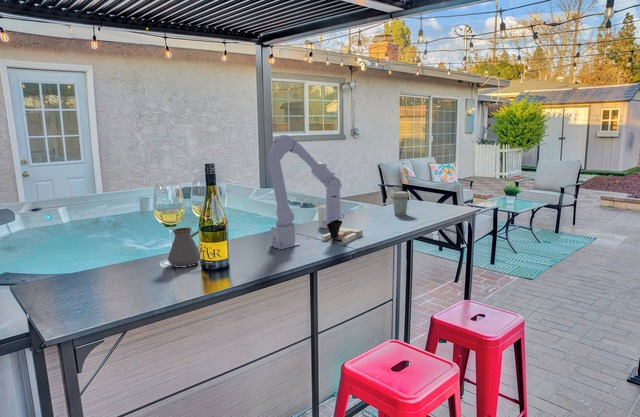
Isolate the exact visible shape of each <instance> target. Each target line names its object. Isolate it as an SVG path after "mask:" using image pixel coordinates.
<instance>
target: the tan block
mask: <svg viewBox="0 0 640 417" xmlns="http://www.w3.org/2000/svg"><path fill="white" fill-rule="evenodd" d="M348 235H349V231H348V230H339V233H338V237H337V239H332V238H331V240H332V241H334V240H339V241H340V242H342V238H344V237H346V236H348Z"/></svg>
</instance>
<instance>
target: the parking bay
mask: <svg viewBox="0 0 640 417" xmlns="http://www.w3.org/2000/svg"><path fill="white" fill-rule="evenodd" d="M339 230H348V231H349V235H348V236H346V237H344V238H342V241H341V243H342V244H345V243H346V244H347V243H350V242H351V241H353V240H355V239H357V238H358V239H359V238H361V237H362V236H363V229H359V228H357V229H356V228H348V227H340V229H339ZM321 237H322V238H321V240H322V242H326V241H329V240H330V239H331V235H330V232H328V233H326V234H324V235H322V236H321ZM331 240H332V239H331Z"/></svg>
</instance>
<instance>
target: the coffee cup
mask: <svg viewBox="0 0 640 417" xmlns="http://www.w3.org/2000/svg"><path fill="white" fill-rule="evenodd" d="M391 195H392V202H393V204H392V205H393V210H394V211H393V212H394V213H393V214H394V216H396V215H397V216H398V217H404V215H405V216H406V215H407V208H408V198H409V192H408V191H401V190H397V191H392V194H391Z"/></svg>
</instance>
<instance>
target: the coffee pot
mask: <svg viewBox="0 0 640 417" xmlns="http://www.w3.org/2000/svg"><path fill="white" fill-rule="evenodd" d="M192 230H193V229H192V228H191V227H179V228H174V229H173V230H172V232H173V234H174V239H173V242H172V246H171V248H170V251H169V254H168V257H167V261H168V262H169V264H170V265H172V264H173V265H172V266H174V265H176V266H189V265H193V264H195V263H197V264H198V263H199V261H200V260H201V259H200V253H201V251H200V249H199V247H198V245H197V244H196V243H195V240H194V239H193V237H194V236H195V237H196V235H198V234H200V233H199V230H196V232H193V233H192V234H191V232H192ZM199 251H200V252H199Z"/></svg>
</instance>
